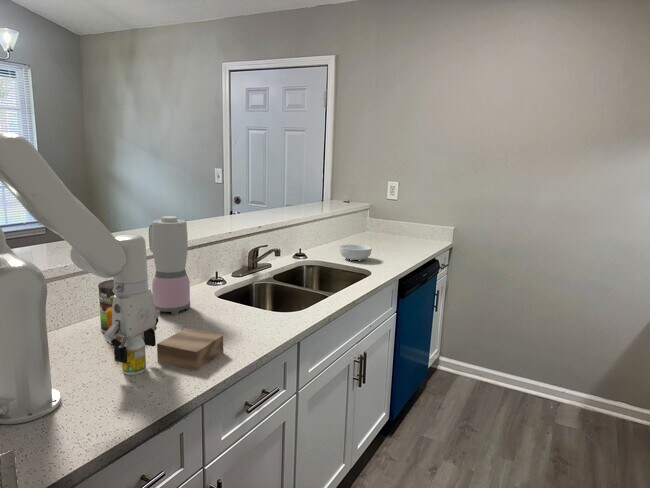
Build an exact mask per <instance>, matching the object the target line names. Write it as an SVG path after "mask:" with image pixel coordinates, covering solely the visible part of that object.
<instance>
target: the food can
mask: <svg viewBox="0 0 650 488" xmlns="http://www.w3.org/2000/svg"><path fill="white" fill-rule="evenodd" d="M97 287H98V299H99V314H100V317H99V318H100V320H99V321H100V331H101V332H102V333H104V334H105V332H106V331H107V330H108V324H107V314H106V311H107V309H109V308H111V307H112V303H111V300H110V297H111V296H114V295H115V294H114V293H113V291H112V290H113V288H114V280H113V279H109V280H108V279H107V280H104V281H101V282H99V283H98V284H97Z"/></svg>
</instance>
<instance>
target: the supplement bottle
mask: <svg viewBox="0 0 650 488" xmlns="http://www.w3.org/2000/svg"><path fill="white" fill-rule="evenodd" d="M124 346H125V347H126V348H127V362H126V363H122V362H121V363H122V368H121V369H122V372H123V374H124V375H126V376H135V375H139V374H142V373H143V372H145V371H146V368H147V362H146V361H147V359H146V345H145V342H144V339H142V333H140V334H138V335H136V336H134V337H132V338H127V340H126V343H125V345H124Z"/></svg>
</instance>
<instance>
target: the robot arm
mask: <svg viewBox="0 0 650 488" xmlns="http://www.w3.org/2000/svg"><path fill="white" fill-rule="evenodd" d="M0 182H1V184H2V185H3V186H4V187H5V188H6V189H7V190H8V191H9V192H10V193H11V194H12V195H13V196H14V198H16V200H18V202H19V203H20V204H21V205H22V207H23V208H24V209H25V210H26V211H27V212H28V214H29V215H30V216H31V217H32V218H34V219H35V221H37V222H38V223H39V224H40V225H42V226H44V227H45V228H46V229H48V230H50V231H52V232H53V233H54V234H56V235H58V236H59V237H61V238H62V239H63V240H64V241H65V242H67V244H69V245H70V246H71V249H70V260H71V261H72V263H73V264H74V266H76V267H77V268H79V269H81V270H83V271H85V272H86V273H87V272H88V273H90V274H93V275H95V276H97V277H99V278H105V279H110V278H113V279H112V280H114V288H113V290H112V291H113V293H114V294H115V295H114V296H113V304H112V326H111V327H110V328H109V329H108V330H107V331H106V332H105V333H104V334H103V337H104V339H105V340H106V341H107V344H109V345H110V346H111V347H112V348H113V351H114V352H113V353H114V361H116V362H117V363H126V362H127V348H126V347H125V346H124V345H125V343H126V340H127V338H132V337H134V336H136V335H138V334H140V333H141V334H142V333H143V341H144V342H145V346H148V347H155V346H157V343H156V330H157V324H158V322H159V319H160V318H159V317H160V314H161V311H160V310H157V309H155V305H154V300H153V293H152V290H151V289H152V288H150V287H149V276H148V275H149V274H148V259H147V248H146V247H147V245H146V239H145V238H144V237H143V236H141V235H139V234H120V235H117V236H115V237H114V235H113V234H112V233H111V231H110V230H109V229H108V228H107V227H106V226H105V224H104V223H103V222H102V221H100V219H98V217H96V215H95V214H94V213H92V212H91V211H90V210H89V208H87V207H86V205H84V204H83V203H82V202H81V201H80V199H78V198H77V197H76V196H75V195H74V194H73V193H72V192H71V191H70V190H69V188H68V187H67V186H66V185H65V183H64V182H63V181H62V180H61V178H59V176H58V175H57V174H56V173H55V171H54V170H53V169H52V167H51V166H50V165H49V164H48V162H47V161H46V160H45V159H44V157H43V156H42V155H41V153H40V152H39V150H37V149H36V147H35V146H34V145H33V144H32V143H31V142H30V141H29V140H28V139H26V137H24V136H21V135H19V134H17V133H11V132H0ZM47 297H48V285H47V280H46V277H45V275H44V273H43V272H42V271H41V269H40V268H39V267H38V266H37V265H36V264H34V263H32V262H31V261H29V260H26V259H24V258H22V257H19V256H18V255H17V254H16V253H15V251H13V250H12V249H11V247H10V246H9V245H8V244H7V238H6V235H5V232H4V231H3V229H2V227H1V226H0V425H16V424H23V423H28V422H31V421H35V420H38V419H40V418H43V417H45V416H46V415H49V414H51V413H52V412H54V410H56V409H57V408H58V407H59V406H60V404H61V402H62V394H61V392H60V391H59V390H56V389H55V388H52V387H53V385H52V374H51V364H50V363H51V361H50V360H51V359H50V349H49V348H50V347H49V338H48V329H47V310H46V309H47V300H48V299H47ZM114 335H115V336H114ZM120 337H122V339H121V341H120V342H119V341H118V340H119V338H120Z"/></svg>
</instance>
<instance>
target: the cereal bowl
mask: <svg viewBox="0 0 650 488" xmlns="http://www.w3.org/2000/svg"><path fill="white" fill-rule="evenodd" d="M339 253H340V255H341V256H342V257H343V258H345V259H347V260H348V259H351V260H362V261H364V260H366V259H368V258H369V257H370V256H371V254H372V247H370V246H369V245H365V244H354V243H353V244H342V245H340V246H339Z"/></svg>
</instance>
